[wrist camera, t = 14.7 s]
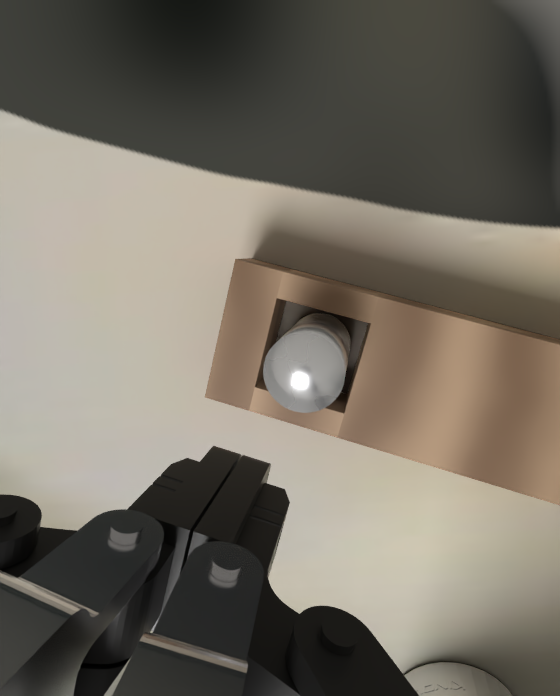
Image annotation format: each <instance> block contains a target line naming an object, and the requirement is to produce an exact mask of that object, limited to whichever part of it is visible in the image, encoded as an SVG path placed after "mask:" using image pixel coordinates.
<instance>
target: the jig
mask: <svg viewBox="0 0 560 696" xmlns="http://www.w3.org/2000/svg"><path fill="white" fill-rule="evenodd" d="M286 301H290V302H293V303H297V304H301V305H304V306H308V307H312V308H315V309H319V310H323V311H326V312H330V313H334V314H337V315H341V316H345V317H349V318H352V319H356V320H360V321H363V322H367V323H368V325H367V329H366V332H365V335H364V339H363V342H362V346H361V349H360V352H359V356H358V359H357V362H356V366H355V369H354V373H353V376H352V379H351V383H350V386H349V390H348V393H347V394H345V393H342V392H340V394H339V395H338V397H337V398H336V399H335V400H334V402H332V403H331V404H330V405H329V406H327V407H326V408H324V409H321V410H319V411H316V412H310V413H301V412H295V411H292V410H289V409H287V408H285V407H283V406H282V405H280V404H279V403H278V402H277V401H276V400H275V399H274V398H273V397H272V396H271V394H270V393H269V391H268V389H267V387H266V385H265V381H264V376H263V367H264V362H265V358H266V356H267V354H268V352H269V350H270V349H271V348H272V346H273V345H274V344H275V343H276V339H277V335H278V331H279V327H280V323H281V319H282V315H283V311H284V307H285V303H286ZM205 397H206V398H209V399H212V400H216V401H219V402H222V403H226V404H229V405H232V406H235V407H239V408H242V409H245V410H249V411H252V412H255V413H259V414H262V415H265V416H268V417H272V418H275V419H278V420H282V421H285V422H288V423H291V424H295V425H298V426H301V427H305V428H308V429H311V430H314V431H318V432H321V433H324V434H328V435H331V436H334V437H337V438H341V439H344V440H347V441H351V442H354V443H357V444H360V445H364V446H367V447H370V448H374V449H377V450H380V451H383V452H387V453H390V454H393V455H397V456H400V457H403V458H407V459H410V460H413V461H416V462H420V463H423V464H426V465H430V466H433V467H436V468H439V469H443V470H446V471H449V472H453V473H456V474H459V475H462V476H466V477H469V478H472V479H476V480H479V481H482V482H485V483H489V484H492V485H495V486H499V487H502V488H505V489H508V490H512V491H515V492H518V493H522V494H525V495H528V496H531V497H535V498H538V499H541V500H545V501H548V502H551V503H554V504H558V505H560V339H556V338H552V337H548V336H544V335H541V334H537V333H533V332H529V331H525V330H522V329H518V328H514V327H510V326H506V325H503V324H499V323H495V322H491V321H487V320H484V319H480V318H476V317H472V316H468V315H465V314H461V313H457V312H453V311H449V310H446V309H442V308H438V307H434V306H430V305H427V304H423V303H419V302H415V301H411V300H408V299H404V298H400V297H396V296H392V295H389V294H385V293H381V292H377V291H373V290H370V289H366V288H362V287H358V286H354V285H351V284H347V283H343V282H339V281H335V280H332V279H328V278H324V277H320V276H316V275H313V274H309V273H305V272H301V271H297V270H294V269H290V268H286V267H282V266H278V265H275V264H271V263H267V262H263V261H259V260H256V259H235V263H234V268H233V272H232V277H231V281H230V286H229V290H228V295H227V300H226V304H225V309H224V313H223V318H222V322H221V327H220V331H219V336H218V340H217V345H216V349H215V354H214V358H213V363H212V367H211V372H210V376H209V381H208V385H207V390H206V394H205Z"/></svg>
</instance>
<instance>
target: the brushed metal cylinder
mask: <svg viewBox="0 0 560 696" xmlns="http://www.w3.org/2000/svg"><path fill="white" fill-rule="evenodd" d="M350 345H351V342H350V336H349V333H348V331H347V329H346V327H345V326H344V324H343V323H342V322H341V321H340V320H338V319H337V318H335V317H334V316H331V315H329V314H325V313H314V314H310V315H307V316H305V317H303V318H302V319H300V320H299V321H298V322H297V323H296V324H295V325H294V326H293V327H292V328H291V329H290V330H289V331H288V332H287V333H286V334H284V335H283V336H282V337H281V338H280V339H279V340H278V341H277V342H276V343H275V344H274V345H273V346H272V348H271V349H270V350H269V352H268V354H267V356H266V358H265V362H264V367H263V376H264V381H265V385H266V387H267V389H268V391H269V393H270V394H271V396H272V397H273V398H274V399H275V400H276V401H277V402H278V403H279V404H280V405H282V406H283V407H285V408H287V409H289V410H292V411H295V412H301V413H310V412H316V411H319V410H321V409H324V408H326V407H327V406H329V405H330V404H331V403H332V402H334V400H335V399H336V398H337V397H338V395H339V394H340V392H341V390H342V388H343V385H344V380H345V375H346V369H347V363H348V358H349V352H350Z"/></svg>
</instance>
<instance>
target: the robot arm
mask: <svg viewBox="0 0 560 696" xmlns="http://www.w3.org/2000/svg"><path fill="white" fill-rule="evenodd" d="M270 466H271V464H270V463H267V462H263V461H260V460H257V459H254V458H251V457H248V456H244V455H243V456H242V457H241V454H238V453H235V452H231V451H228V450H225V449H222V448H219V447H216V446H213V447H212V448H211V449H210V450H209V452H208V453H207V454H206V455H205V456H204V458H203V459H202V460H201V461H200V462H198V461H195V460H192V459H189V458H186V459H184V460H181V461H178V462H176V463H173V464H171V465H170V466H169V467H168V468H167V469H166V470H165V471H164V472H163V473H162V474H161V477H160V476H159V477H158V478H157V479H156V480H155V481H154V482H153V485H151V486H150V487H149V488H148V489H147V490H146V491H145V492H144V493H143V494H142V495H141V496H140V497H139V498H138V499H137V500H136V501H135V502H134V503H133V504H132V505H131V506H130V507H129V508H128V509H127V510H122V509H121V510H112V511H108V512H104V513H102V514H100V515H97V516H96V517H94V518H93V519H92V520H90V521H89V522H88V523H87V524H85V525H84V526H83V527H82V528H80V529H79V530H78V531H75V530H63V529H54V528H44V527H40V524H41V517H42V515H41V510H40V508H39V507H38V505H36V504H35V503H34V502H32V501H31V500H29V499H26V498H23V497H20V496H14V495H0V696H512V694H511V693H510V692H509V690H508V689H507V688H506V687H505V686H504V685H503V684H502V683H501V682H500V681H498V680H497V679H496V678H495V677H493V676H491V675H490V674H488V673H486V672H485V671H483V670H480V669H477V668H475V667H472V666H469V665H464V664H460V663H451V662H439V663H432V664H426V665H424V666H421V667H418V668H415V669H413V670H412V671H410V672H409V673H407V674H405V675H403V674H402V672H401V671H400V670H399V668H398V667H397V666H396V664H395V663H394V662H393V660H392V659H391V658H390V656H389V655H388V654H387V653H386V651H385V650H384V649H383V647H382V646H381V645H380V643H379V642H378V641H377V639H376V638H375V637H374V635H373V634H372V633H371V631H370V630H369V629H368V628H367V627H366V626H365V625H364V624H363V623H362V622H361V621H360V620H358V619H357V618H356V617H354V616H353V615H351V614H349V613H348V612H345V611H343V610H341V609H338V608H335V607H330V606H314V607H311V608H308V609H306V610H304V611H303V612H302V613H300V614H299V613H297V612H295V611H294V610H292V609H291V608H290V607H288V606H287V605H286V604H284V603H283V602H282V601H281V600H280V599H279V598H278V597H277V596H276V594H275V593H274V591H273V590H272V588H271V586H270V584H269V580H268V576H269V573H270V570H271V567H272V563H273V560H274V557H275V554H276V550H277V546H278V543H279V539H280V536H281V532H282V528H283V525H284V521H285V518H286V514H287V510H288V507H289V503H290V502H289V499H288V497H287V494H286V491H285V489H282V488H279V487H276V486H273V485H270V484H267V479H268V475H269V471H270ZM150 631H153V633H150Z"/></svg>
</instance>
